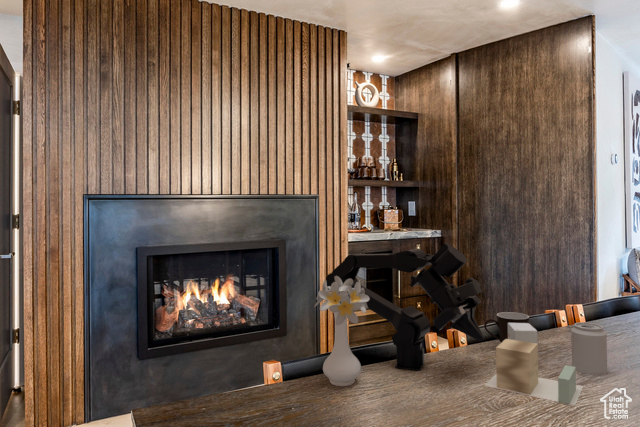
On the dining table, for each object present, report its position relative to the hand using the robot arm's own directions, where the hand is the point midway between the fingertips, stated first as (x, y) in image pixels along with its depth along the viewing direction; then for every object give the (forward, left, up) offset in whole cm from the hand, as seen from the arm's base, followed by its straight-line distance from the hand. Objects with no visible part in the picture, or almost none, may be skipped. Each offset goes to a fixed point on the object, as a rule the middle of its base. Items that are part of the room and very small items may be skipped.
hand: (482, 340), depth 105 cm
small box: (+10, +14, -10) cm, 20 cm away
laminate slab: (+11, -2, -10) cm, 15 cm away
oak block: (+7, -2, -9) cm, 12 cm away
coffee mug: (+6, +28, -10) cm, 30 cm away
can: (+25, +14, -10) cm, 30 cm away
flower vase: (-32, -10, -10) cm, 35 cm away
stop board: (+17, -5, -9) cm, 20 cm away
